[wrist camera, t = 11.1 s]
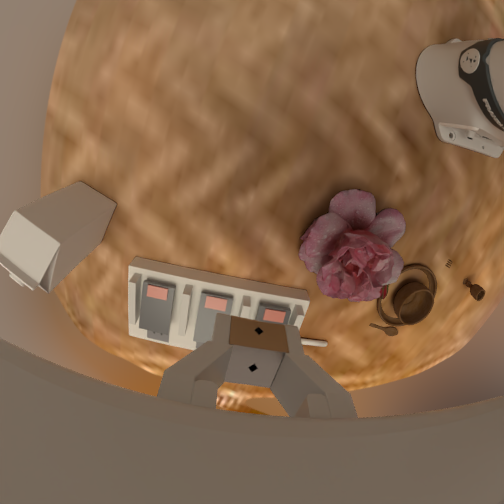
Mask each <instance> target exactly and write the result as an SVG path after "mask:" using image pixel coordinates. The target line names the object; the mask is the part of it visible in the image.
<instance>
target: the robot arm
mask: <svg viewBox="0 0 504 504" xmlns="http://www.w3.org/2000/svg"><path fill="white" fill-rule="evenodd" d="M416 79H417V86H418V90H419V93H420V96H421V99H422V101H423V103H424V105H425V107H426V109H427V110H428V112H429V114H430V115H431V117H432V119H433V121H434V125H435V129H436V133H437V136H438V138H439V140H441V141H442V142H446V143H449V144H453V145H456V146H459V147H463V148H466V149H469V150H472V151H475V152H478V153H481V154H484V155H487V156H490V157H493V158H498V157H499V156H500V155H501V153H502V152H503V150H504V39H501V38H495V39H493V38H489V39H488V40H470V41H461V40H459V39H451V40H450V41H448V42H447V43H446V44H434V45H431V46H429V47H427V48H426V49H424V50H423V52H422V53H421V55H420V56H419V59H418V62H417V67H416ZM449 134H450V137H449ZM224 382H231V383H239V384H248V385H254V386H261V387H268V388H270V389H271V391H272V392H273V394H274V395H275V397H276V398H277V399H278V401H279V402H280V404H281V405H282V406H283V408H284V409H285V410H286V412H287V413H288V415H289V416H290V417H283V416H270V415H260V414H250V413H242V412H234V411H227V410H220V409H216V399H217V389H218V388H219V387H220V386H221V385H222V384H223V383H224ZM0 504H504V396H499V397H496V398H492V399H489V400H484V401H481V402H476V403H472V404H467V405H462V406H458V407H452V408H447V409H441V410H435V411H428V412H421V413H413V414H405V415H394V416H383V417H367V418H358V417H357V413H356V410H355V407H354V404H353V401H352V397H351V395H350V393H349V392H347V391H346V390H345V389H344V388H343V387H342V386H341V385H340V384H339V383H337V382H336V381H335V380H334V379H333V378H332V377H331V376H330V375H329V374H328V373H326V372H325V371H324V370H323V369H322V368H321V367H320V366H319V365H318V364H317V363H316V362H315V361H313V360H312V359H311V358H310V357H309V356H307V355H304V351H303V346H302V342H301V338H300V333H299V329H298V327H297V326H293V325H281V324H275V323H268V322H262V321H257V320H252V319H247V318H242V317H237V316H232V315H231V316H230V315H227V314H222V313H217V314H216V319H215V324H214V329H213V334H212V339H211V341H207V342H205V343H204V344H203V345H201V346H200V347H198V348H197V349H195V350H194V351H193V352H191V353H190V354H188V355H187V356H185V357H184V358H182V359H181V360H180V361H178V362H177V363H175V364H174V365H172V366H171V367H169V368H168V369H166V370H165V371H164V374H163V378H162V381H161V384H160V388H159V391H158V395H157V397H155V396H151V395H147V394H143V393H140V392H136V391H133V390H129V389H125V388H122V387H119V386H116V385H112V384H109V383H106V382H103V381H100V380H97V379H94V378H91V377H89V376H86V375H83V374H80V373H78V372H75V371H72V370H70V369H67V368H65V367H62V366H60V365H57V364H55V363H53V362H50V361H48V360H46V359H43V358H41V357H39V356H36V355H35V354H32V353H30V352H28V351H26V350H24V349H22V348H20V347H18V346H16V345H14V344H12V343H10V342H8V341H6V340H4V339H2V338H1V337H0Z"/></svg>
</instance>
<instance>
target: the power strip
mask: <svg viewBox="0 0 504 504" xmlns="http://www.w3.org/2000/svg"><path fill="white" fill-rule="evenodd" d="M144 280H150V281H155V282H159V283H164V284H168V285H173V286H176V289H175V296H174V303H173V310H172V317H171V325H170V332H169V334H168V335H166V334H162V333H157V332H153V331H149V330H145V329H141V328H139V318H140V307H141V297H142V288H143V281H144ZM202 291H203V292H208V293H213V294H218V295H223V296H229V297H233V304H232V309H231V314H230V316H231V315H232V316H237V317H242V318H247V319H252V320H255V318H256V314H257V310H258V306H259V303H264V304H270V305H276V306H282V307H288V308H290V309H291V314H290V318H289V321H288V325H293V326H297V327H298V329H300V327H301V324H302V322H303V319H304V317H305V313H306V311H307V308H308V306H309V303H310V299H309V296H308V293H307V290H301V289H296V288H290V287H285V286H279V285H274V284H268V283H263V282H258V281H252V280H247V279H242V278H237V277H232V276H227V275H222V274H217V273H212V272H207V271H202V270H197V269H192V268H187V267H182V266H177V265H173V264H168V263H163V262H159V261H154V260H149V259H145V258H140V257H135V258H134V259H133V261H132V262H131V263H130V265H129V276H128V317H129V335H131V336H134V337H138V338H142V339H146V340H150V341H154V342H159V343H163V344H167V345H172V346H176V347H181V348H186V349H190V350H195V349H197V348H198V347H200V346H201V345H203V344H204V343H200V342H195V341H193V337H194V331H195V325H196V319H197V313H198V308H199V302H200V296H201V292H202ZM301 342H302V344H304V345H313V346H322V347H326V346H327V342H326V341H320V340H312V339H303V338H301Z"/></svg>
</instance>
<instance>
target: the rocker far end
mask: <svg viewBox="0 0 504 504" xmlns="http://www.w3.org/2000/svg"><path fill="white" fill-rule="evenodd" d="M175 289H176V286H173V285H168V284H164V283H159V282H155V281H150V280H144V281H143V288H142V297H141V307H140V318H139V328H141V329H145V330H149V331H153V332H157V333H162V334H166V335H168V334H169V332H170V325H171V317H172V310H173V303H174V296H175Z"/></svg>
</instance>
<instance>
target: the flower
mask: <svg viewBox="0 0 504 504" xmlns="http://www.w3.org/2000/svg"><path fill="white" fill-rule="evenodd" d="M375 211H376V201H375V198H374V196H373V195H372V193H369V192H366V191H362V190H359V189H351V190H346V191H341V192H339V193H337V194H336V195H335V196H334V197H333V199H332V200H331V201H330V206H329V212H328V213H327V214H325V215H322V216H321V217H318V218H316V219H314V221H313V222H312V223H311V225H310V226H309V227H308V229H307V230H306V231H305V234H304V235H303V236H301V237H300V239H302V240H304V242H303V243H302V245H301V247H300V251H299V258H300V260H303V261H304V262H305V265H306V268H307V269H308V270H309V271H310V272H315V273H316V274H317V284H318V286H319V288H320V290H321V291H322V293H323V294H324V295H327V296H329V297H332V298H340V299H344V298H348V300H349V301H351V302H352V301H354V302H359V301H371V300H373V299H376V298H379V297H380V298H381V299H384V298H385V297H386V296H387V293H388V285H389V284H390V283H393V282H396V281H397V279H398V277H399V275H400V273H401V270H402V269H403V264H404V262H403V259H402V257H401V256H400V255H399V253H398V252H397V251H395V250H393V249H391V247H392V246H393V245H394V244H395V243H396V242H397V241H398V240H399V239H400V238H401V237H402V235H403V234H404V233H405V227H406V223H405V220H404V217H403V215H402V214H401V213H400V212H399V211H398V210H397V209H392V208H387V209H383V210H381V211H380V212H378V213H375Z"/></svg>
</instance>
